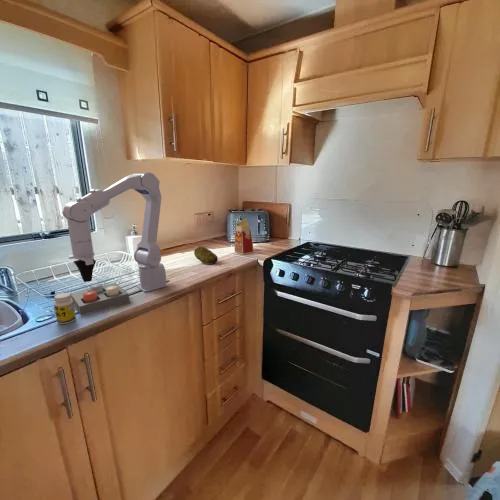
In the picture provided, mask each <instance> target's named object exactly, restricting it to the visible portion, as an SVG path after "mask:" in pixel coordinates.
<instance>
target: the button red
mask: <svg viewBox="0 0 500 500" xmlns="http://www.w3.org/2000/svg"><path fill="white" fill-rule="evenodd" d="M83 300H84V303H88V302H92V301H96V300H98V299H97V292H96V291H89V292H86V293H84V294H83Z"/></svg>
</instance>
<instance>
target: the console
mask: <svg viewBox="0 0 500 500" xmlns="http://www.w3.org/2000/svg"><path fill="white" fill-rule="evenodd" d="M110 286H118V288H119V295H115V296H111V297H107V295H106V288H107V287H110ZM89 291H90V288H87V289H84V290H83V289H82V290H80V291H75V292H71V293H70V292H69V293H70V295H71V299H72V300H73V304H74V308H75V309H76V310H77V312H78V313H79V314H80V316H83V315H87V314H90V313H94V312H97V311H98V312H99V311H101V310H104V309H108V308H112V307H115V306H119V305H123V304H126V303H128V302H130V294H129V292H127V291H126V290H125V289H124V288H122V286H120V285H119V284H117V283H116V282H114V283H109V284H106V285H105V284H104V285H103V291H104V292H101V293H97V299H98V300H96V301H92V302H88V303H84V300H83V294H84V293H86V292H89Z"/></svg>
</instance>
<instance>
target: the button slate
mask: <svg viewBox="0 0 500 500" xmlns="http://www.w3.org/2000/svg"><path fill="white" fill-rule="evenodd" d="M103 286H104V285H103V283H95V284H91V285H90V286H89V289H90V291H96V292H97V293H101V292H104V291H103Z"/></svg>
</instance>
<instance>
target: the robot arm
mask: <svg viewBox="0 0 500 500" xmlns="http://www.w3.org/2000/svg"><path fill="white" fill-rule="evenodd" d="M160 182H161V181H160V180H159V179H158V177H157V176H156V175H155V174H154V173H153V172H141V173H140V172H133V173H131V174H129V175H126V176H125V177H123V178H122V179H120V180H118V181H117V182H115V183H113V184H112V185H110V186H108V187H107V188H105V189H104V190H103V189H98V188H97V189H95V188H94V189H90V190H89V193H88V194H85V195H84V196H82V197H77V198H75V200H76V201H70V202H68V203H65V205H64V207H63V209H62V212H61V213H62V216H63V217H64V218H65V219H66V220H67V226H68V235H69V239H70V245H71V252H72V254H70V255H68V259H69V260H70V259H71V260H72V259H74V260H73V261H72V262H73V263H74V265H75V266H76V267H77V270H78V271H79V273H80V276H81V279H82V281H83V282H84V283H87V282H91V281H93V272H94V268H95V265H96V261H97V260H96V259H94V257H95V252H94V247H93V246H94V245H93V241H92V234H91V225H90V218H91V217H92V215H93V214H95V213H96V212H99V211H100V210H102V209H103V208H105V207H107V206H109V205H110V203H111V200H112V199H113V198H115V197H117V196H119V195H121V194H122V193H125V192H127V191H128V190H134V191H135V192H137V193H139V194H140V195H141V196H142V197H143V198H144V200H145V206H144V214H143V221H142V222H143V223H142V233H141V240H140V241H139V242H138V243H137V247H136V249H135V251H134V254H133V259H134V261H135V262H136V263H137V267H138V273H139V274H138V275H139V283H140V284H138V285H136V287H137V288H138V289H139V290H141V291H143V293H146V292H150V291H154V290H158V289H161V288H165V287H168V284H167V276H166V275H167V273H166V267H165V266H164V264H163V263H161V261H162V255H161V247H160V245H159V244H158V243H157V242H158V241H157V239H158V233H159V232H158V231H159V230H158V229H159V223H160V214H161V213H160V212H161V204H162V194H161V190H160Z"/></svg>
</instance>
